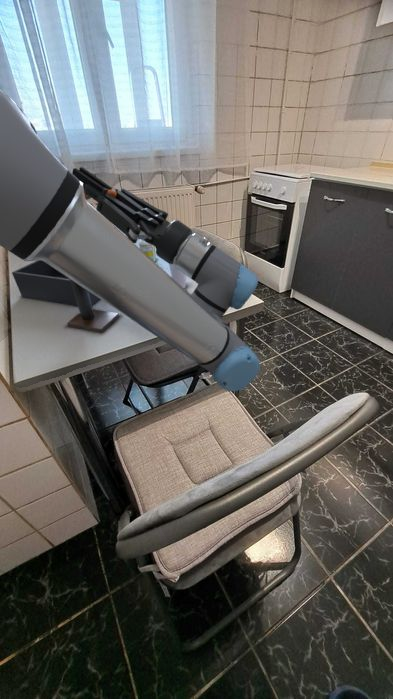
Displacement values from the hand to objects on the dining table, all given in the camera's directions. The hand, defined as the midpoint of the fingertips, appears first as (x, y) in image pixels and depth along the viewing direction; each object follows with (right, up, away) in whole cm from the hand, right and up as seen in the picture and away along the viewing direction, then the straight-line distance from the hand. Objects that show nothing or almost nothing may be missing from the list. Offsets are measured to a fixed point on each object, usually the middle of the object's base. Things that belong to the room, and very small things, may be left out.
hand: (76, 175), depth 54 cm
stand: (-4, -25, +21) cm, 33 cm away
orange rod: (-2, -2, +3) cm, 4 cm away
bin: (-16, -14, +36) cm, 42 cm away
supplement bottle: (+5, +1, +55) cm, 55 cm away
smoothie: (+17, -13, +36) cm, 42 cm away
